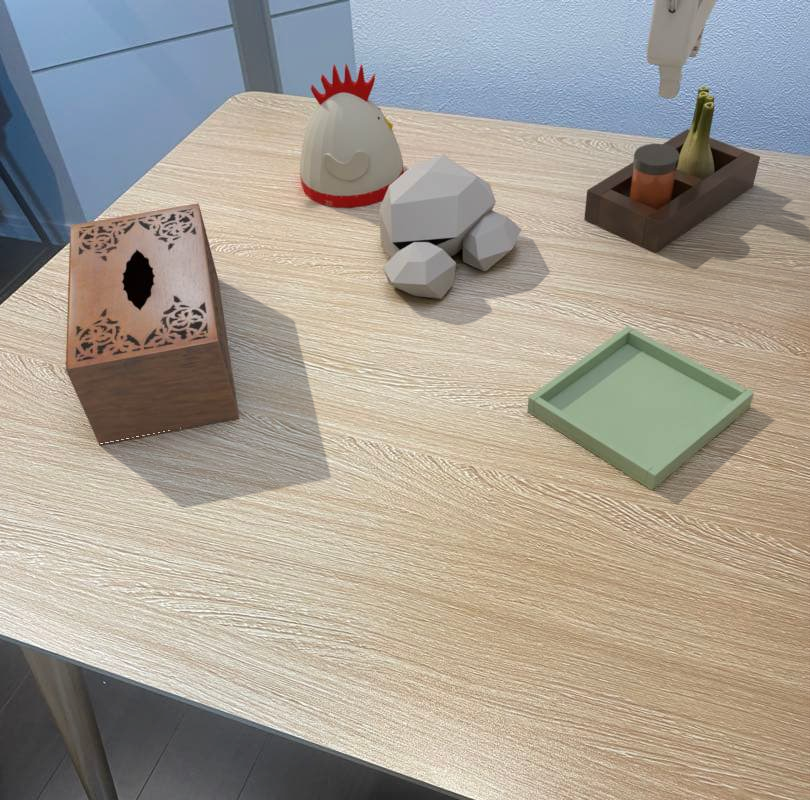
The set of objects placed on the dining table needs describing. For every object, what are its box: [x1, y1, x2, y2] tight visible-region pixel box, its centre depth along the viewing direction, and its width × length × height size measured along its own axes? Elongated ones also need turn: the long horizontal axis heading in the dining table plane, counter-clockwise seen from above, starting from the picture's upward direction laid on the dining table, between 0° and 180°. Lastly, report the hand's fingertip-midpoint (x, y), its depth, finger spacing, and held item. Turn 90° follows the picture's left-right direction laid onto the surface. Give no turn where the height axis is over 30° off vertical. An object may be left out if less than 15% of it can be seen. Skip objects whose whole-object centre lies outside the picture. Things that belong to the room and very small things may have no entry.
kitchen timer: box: [299, 63, 405, 209], centre depth 118 cm, size 14×14×15 cm
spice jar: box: [629, 143, 680, 210], centre depth 111 cm, size 5×5×8 cm
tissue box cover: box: [65, 202, 240, 446], centre depth 99 cm, size 26×14×10 cm, turn 12°
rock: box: [378, 153, 522, 300], centre depth 108 cm, size 18×20×10 cm
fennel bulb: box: [677, 85, 715, 180], centre depth 113 cm, size 6×5×12 cm
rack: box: [583, 128, 761, 254], centre depth 114 cm, size 11×20×4 cm, turn 133°
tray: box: [527, 325, 755, 491], centre depth 91 cm, size 16×16×2 cm
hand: (679, 74), depth 92 cm, fingers open, 8 cm apart
